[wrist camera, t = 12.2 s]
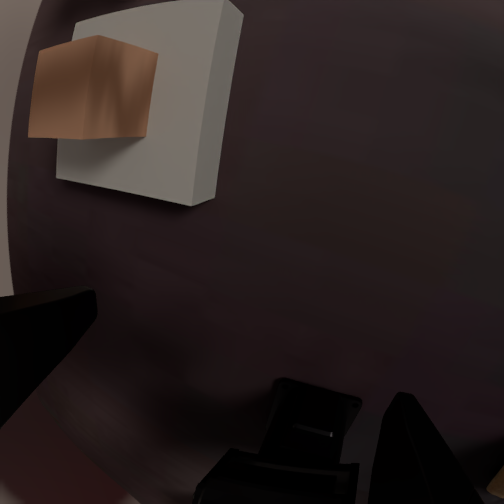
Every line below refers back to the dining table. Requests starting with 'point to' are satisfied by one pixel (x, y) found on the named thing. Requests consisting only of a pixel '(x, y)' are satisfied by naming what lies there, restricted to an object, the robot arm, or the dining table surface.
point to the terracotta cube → (92, 90)
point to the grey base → (166, 103)
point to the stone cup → (497, 484)
